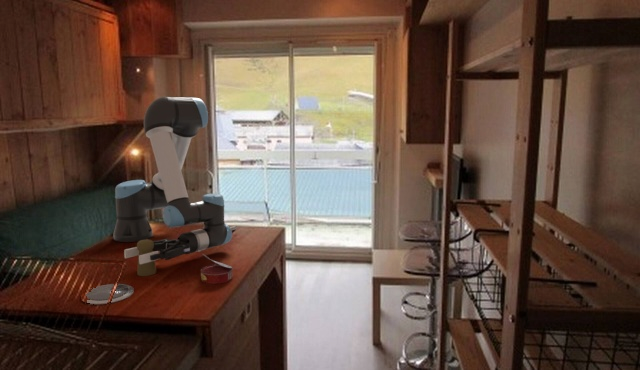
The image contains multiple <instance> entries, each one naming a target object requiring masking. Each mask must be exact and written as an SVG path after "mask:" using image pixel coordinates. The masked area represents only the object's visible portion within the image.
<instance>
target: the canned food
mask: <svg viewBox="0 0 640 370" xmlns="http://www.w3.org/2000/svg"><path fill="white" fill-rule="evenodd" d="M202 255H203V256H204V257H205V258H206V259H208V260H210V261H212V262H213V263H215V264H209V265H207V266H203V267H202V268H201V269H200V279H201V280H200V281H201V282H203V283H205V282H206V284H223V283H227V282H229V281H231V280H232V279H233V276H234V275H233V266H231V265H229V264H225V263H223V262H219V261H215V260H213V259H210V258H209V257H208V256H207V255H206V254H204V253H202Z"/></svg>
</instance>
